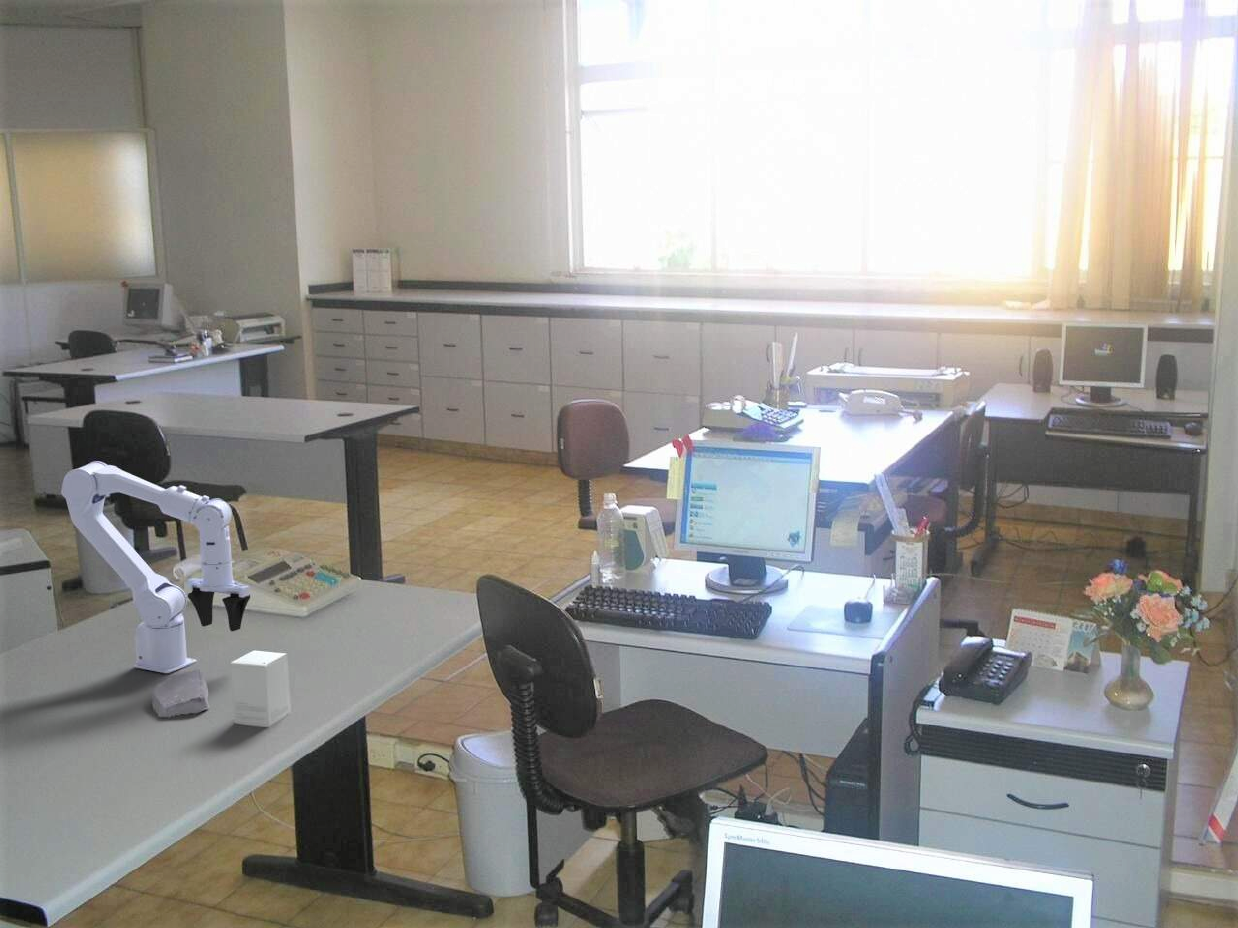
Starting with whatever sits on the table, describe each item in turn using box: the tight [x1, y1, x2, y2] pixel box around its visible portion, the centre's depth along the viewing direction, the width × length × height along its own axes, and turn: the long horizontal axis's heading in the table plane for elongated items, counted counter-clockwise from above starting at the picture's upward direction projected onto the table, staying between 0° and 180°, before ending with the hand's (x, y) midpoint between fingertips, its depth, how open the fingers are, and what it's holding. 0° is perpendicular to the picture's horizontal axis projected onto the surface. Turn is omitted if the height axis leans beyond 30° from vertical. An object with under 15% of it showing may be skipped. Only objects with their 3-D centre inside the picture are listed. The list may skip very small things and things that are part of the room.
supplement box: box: [230, 650, 292, 728], centre depth 225 cm, size 7×7×13 cm
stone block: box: [151, 669, 210, 718], centre depth 232 cm, size 12×5×10 cm
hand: (221, 627), depth 251 cm, fingers open, 7 cm apart
